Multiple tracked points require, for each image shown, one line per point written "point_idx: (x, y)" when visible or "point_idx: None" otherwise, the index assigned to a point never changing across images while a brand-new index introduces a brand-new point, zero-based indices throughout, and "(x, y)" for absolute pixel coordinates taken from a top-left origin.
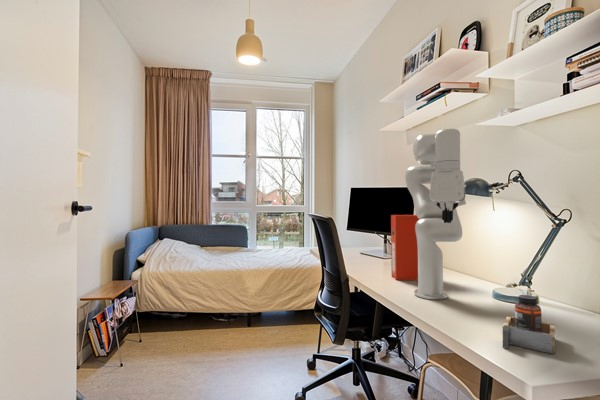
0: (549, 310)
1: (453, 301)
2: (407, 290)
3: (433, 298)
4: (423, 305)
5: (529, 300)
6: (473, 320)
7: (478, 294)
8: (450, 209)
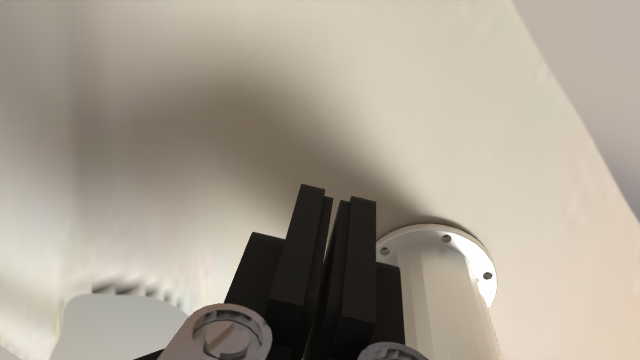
0: (28, 249)
1: None
2: (522, 317)
3: (415, 226)
4: (459, 133)
5: None
6: (261, 16)
7: None
8: (231, 337)
